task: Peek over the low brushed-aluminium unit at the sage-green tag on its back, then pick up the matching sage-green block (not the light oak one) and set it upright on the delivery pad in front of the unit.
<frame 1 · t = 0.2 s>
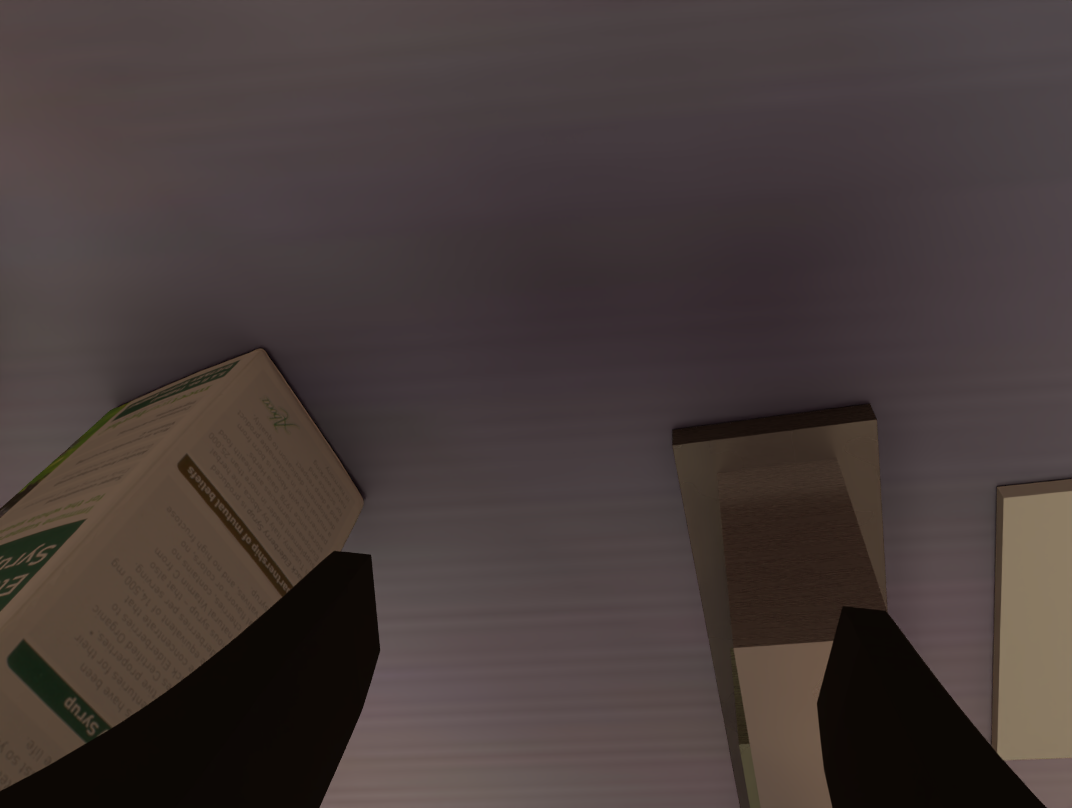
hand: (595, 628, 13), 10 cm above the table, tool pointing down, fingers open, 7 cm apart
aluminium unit: (796, 643, 25), on the table
syrup box: (247, 452, 25), on the table
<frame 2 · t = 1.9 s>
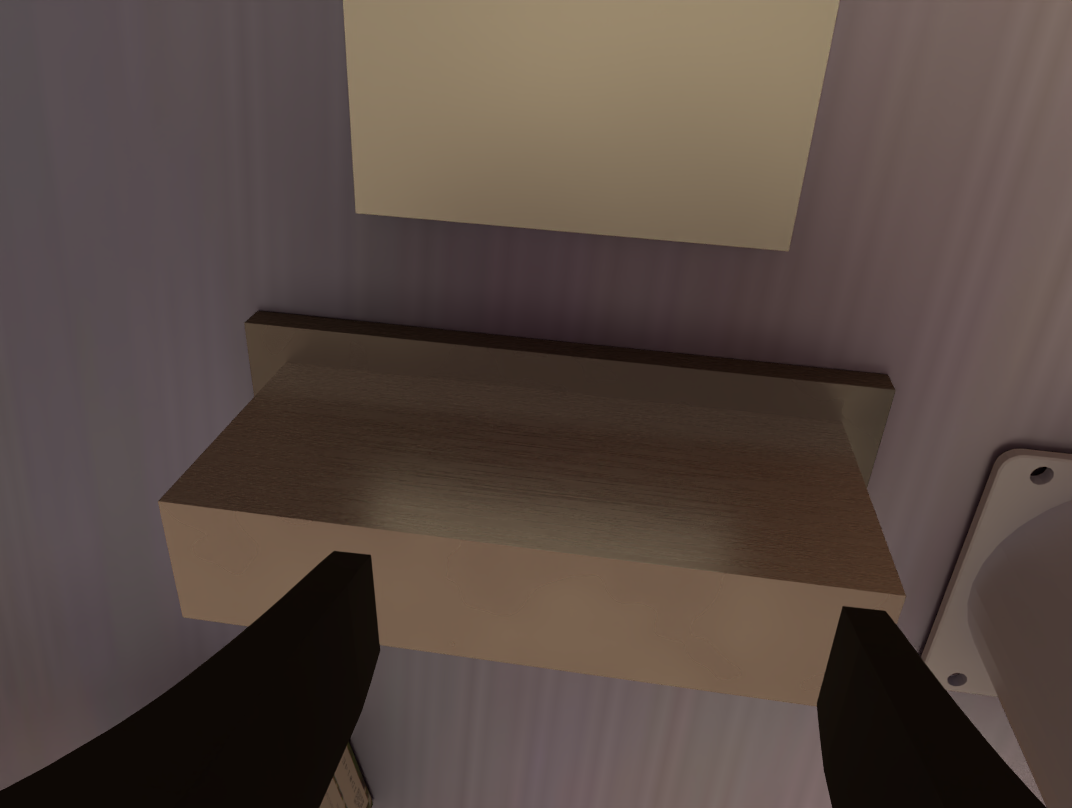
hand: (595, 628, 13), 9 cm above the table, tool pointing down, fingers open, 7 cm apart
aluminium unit: (555, 426, 22), on the table
delivery pad: (579, 65, 18), on the table
syrup box: (289, 746, 31), on the table
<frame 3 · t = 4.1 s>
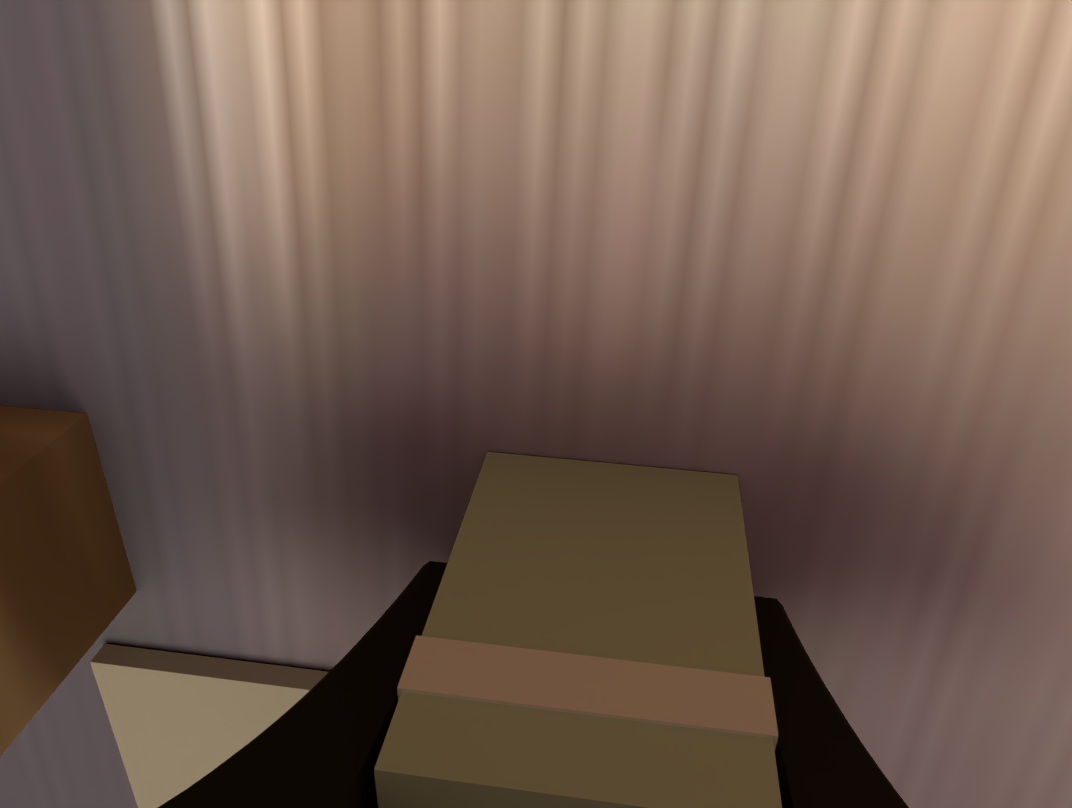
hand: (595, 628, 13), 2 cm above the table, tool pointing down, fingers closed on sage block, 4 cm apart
delivery pad: (354, 787, 18), on the table
sage block: (602, 561, 14), on the table, touching gripper
oak block: (13, 497, 15), on the table
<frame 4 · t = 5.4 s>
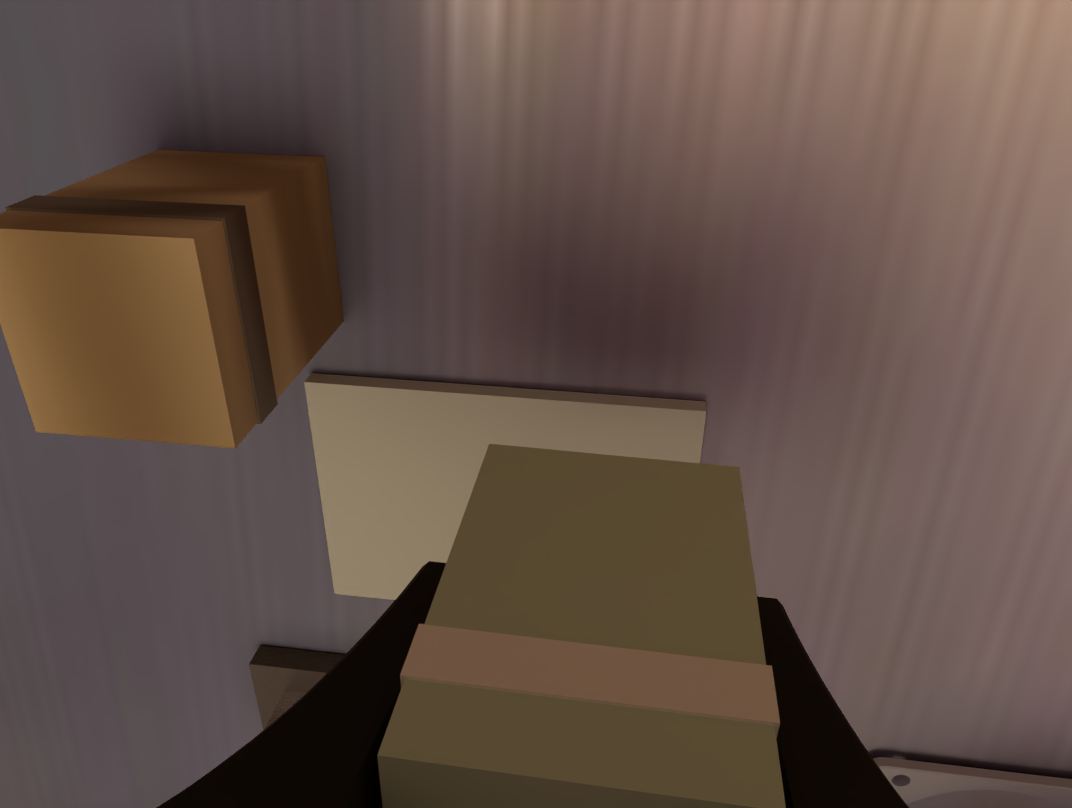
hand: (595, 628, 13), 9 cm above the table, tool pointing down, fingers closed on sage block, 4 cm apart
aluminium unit: (507, 728, 27), on the table
delivery pad: (504, 501, 22), on the table
sage block: (604, 553, 14), point 7 cm above the table, touching gripper
oak block: (254, 238, 20), on the table
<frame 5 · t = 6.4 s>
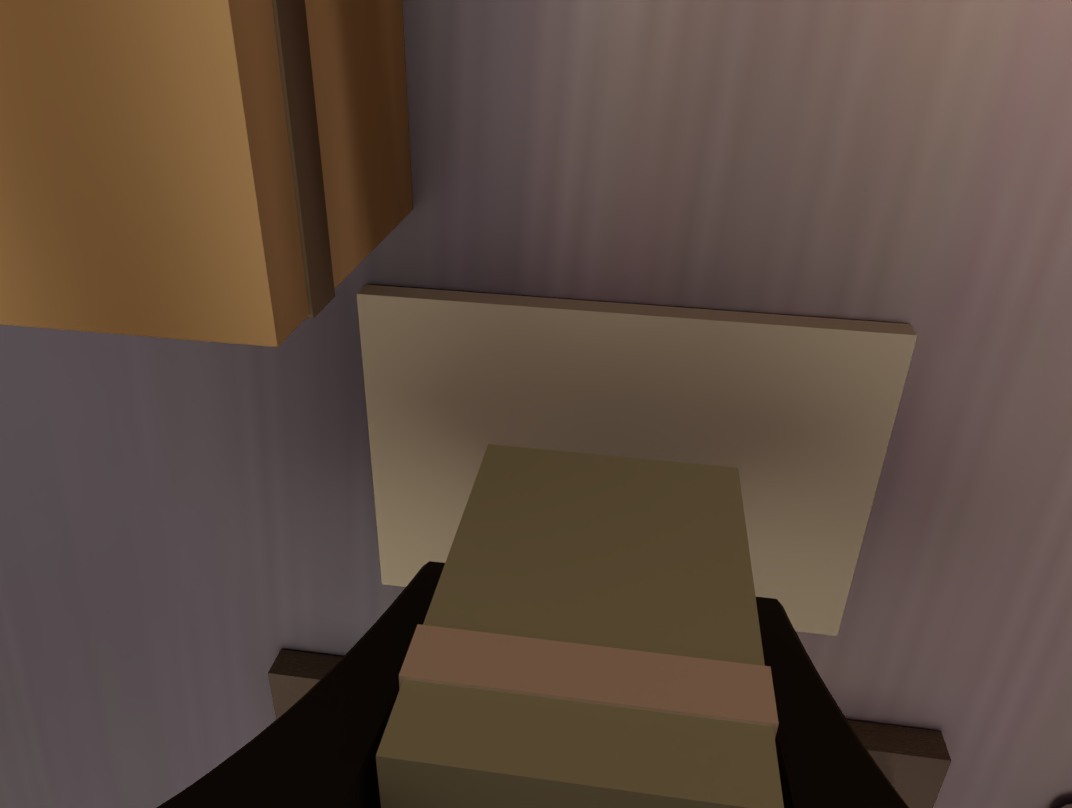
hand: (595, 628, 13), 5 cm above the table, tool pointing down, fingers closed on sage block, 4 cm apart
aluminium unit: (590, 757, 21), on the table
delivery pad: (614, 463, 17), on the table
sage block: (603, 553, 14), point 3 cm above the table, touching gripper
oak block: (294, 87, 14), on the table
when the fingers open (4 cm above the table, at t = 7.0 s): sage block drops 1 cm, resting on delivery pad.
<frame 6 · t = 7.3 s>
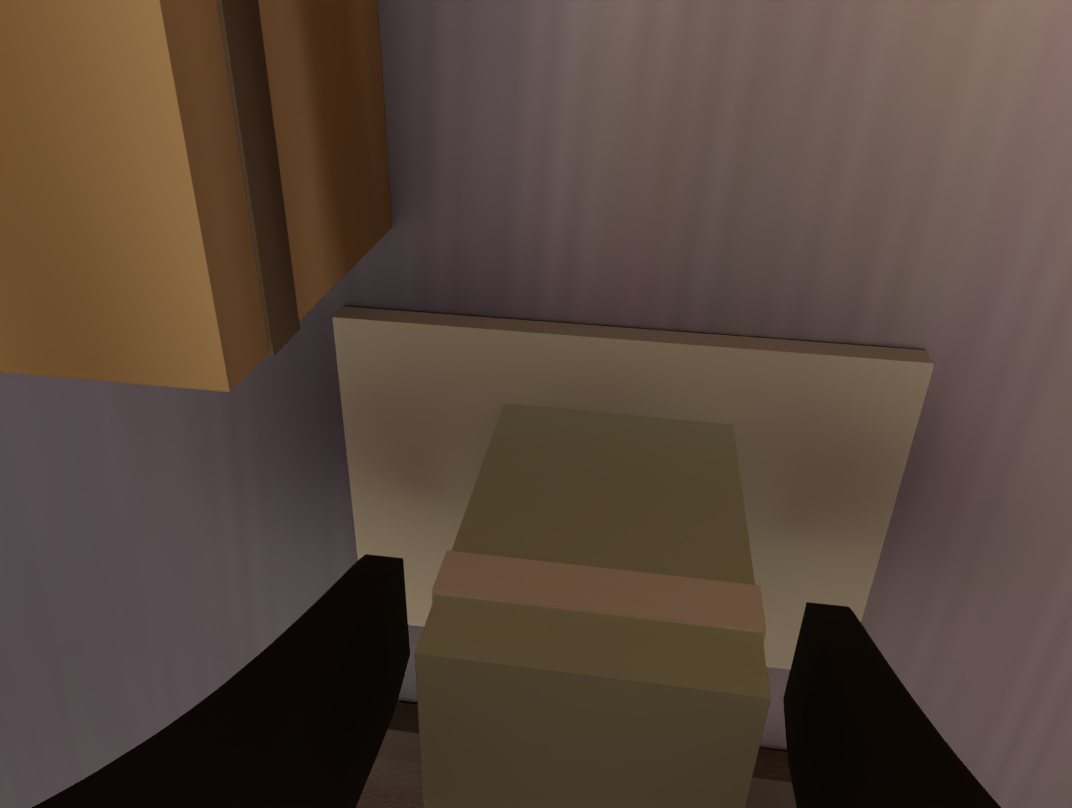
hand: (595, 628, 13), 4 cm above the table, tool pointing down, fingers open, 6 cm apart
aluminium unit: (585, 796, 20), on the table
delivery pad: (609, 494, 16), on the table
sage block: (608, 506, 15), resting on delivery pad
oak block: (262, 96, 13), on the table
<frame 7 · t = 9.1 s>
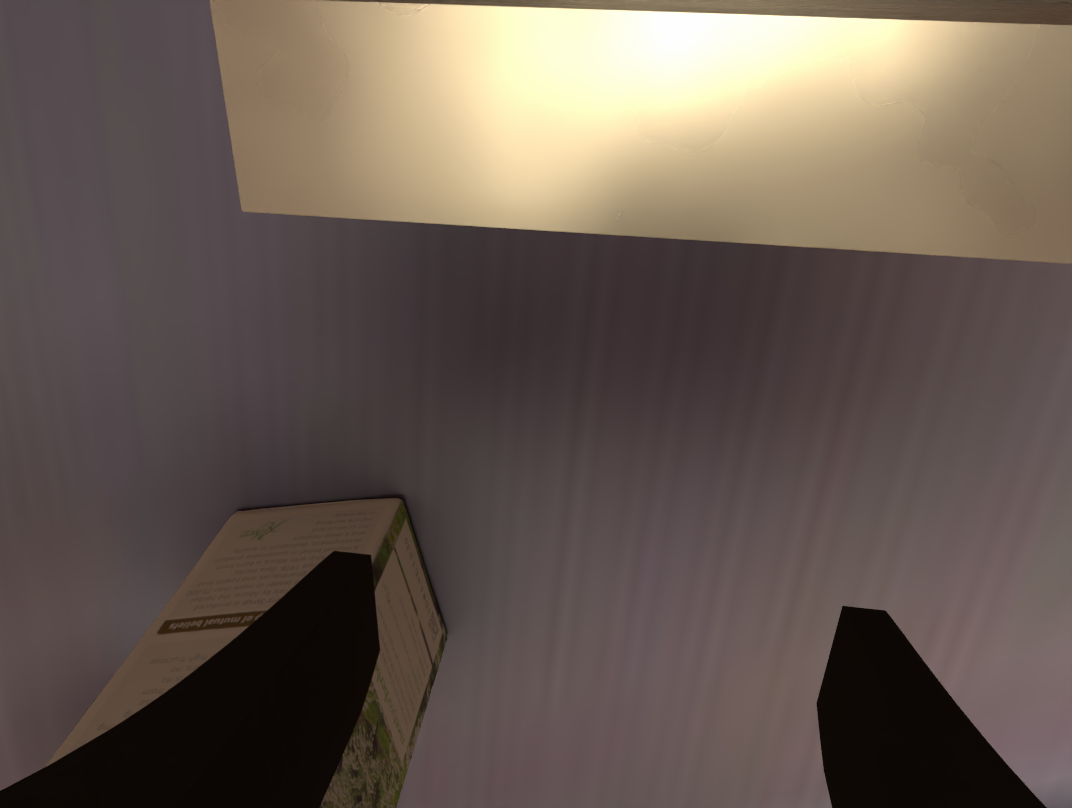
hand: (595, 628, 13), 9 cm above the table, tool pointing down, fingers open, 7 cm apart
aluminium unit: (695, 69, 17), on the table
syrup box: (348, 569, 26), on the table
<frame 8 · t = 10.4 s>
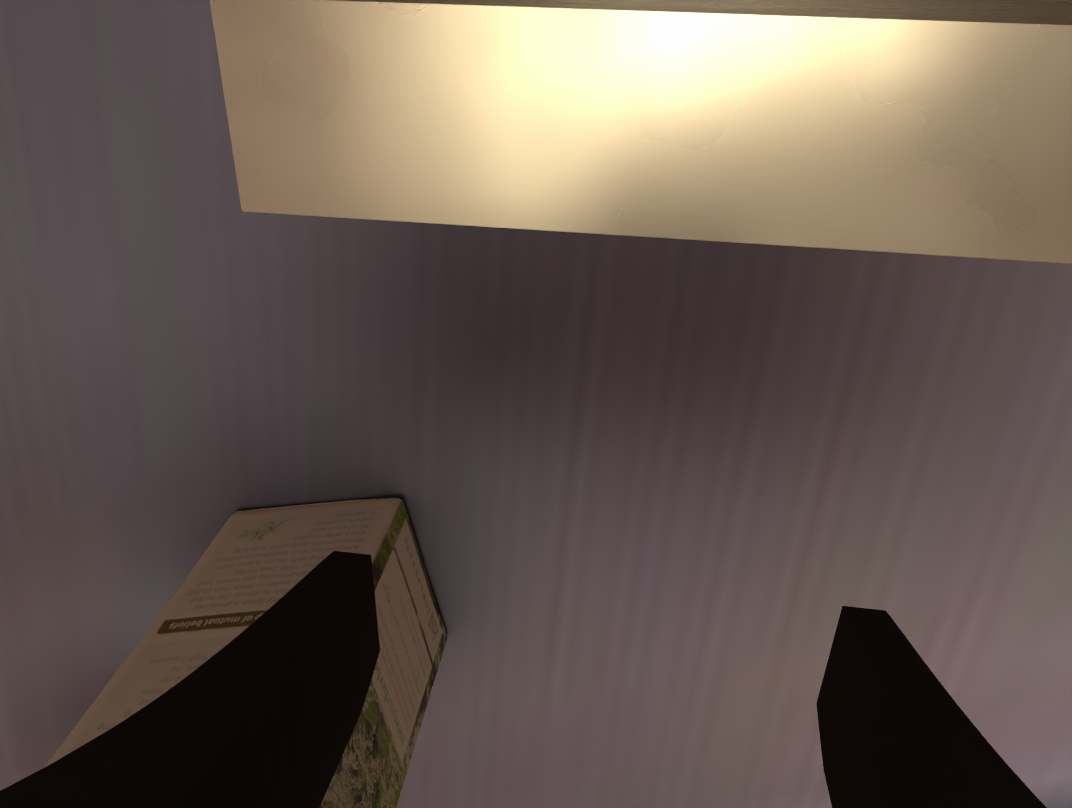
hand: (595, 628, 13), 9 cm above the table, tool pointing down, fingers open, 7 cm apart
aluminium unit: (695, 68, 17), on the table
syrup box: (348, 569, 26), on the table
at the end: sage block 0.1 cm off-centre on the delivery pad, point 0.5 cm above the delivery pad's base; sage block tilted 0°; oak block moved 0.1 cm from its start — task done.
